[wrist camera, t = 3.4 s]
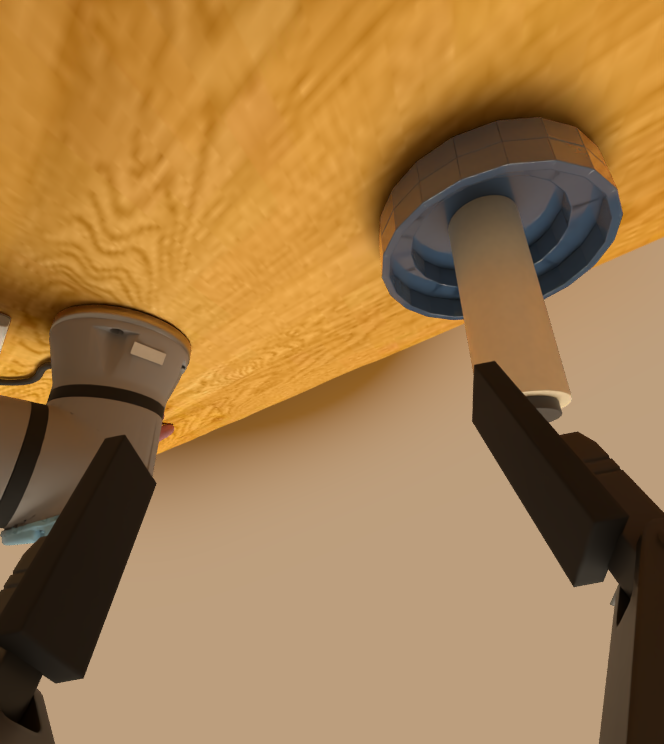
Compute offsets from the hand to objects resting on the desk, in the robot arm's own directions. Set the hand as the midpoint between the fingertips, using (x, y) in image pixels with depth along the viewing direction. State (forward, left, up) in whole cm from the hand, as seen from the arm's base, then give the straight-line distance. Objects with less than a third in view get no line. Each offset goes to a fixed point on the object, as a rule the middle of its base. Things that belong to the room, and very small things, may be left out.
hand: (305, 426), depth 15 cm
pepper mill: (+9, -13, -19) cm, 25 cm away
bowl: (+9, -13, -20) cm, 25 cm away
